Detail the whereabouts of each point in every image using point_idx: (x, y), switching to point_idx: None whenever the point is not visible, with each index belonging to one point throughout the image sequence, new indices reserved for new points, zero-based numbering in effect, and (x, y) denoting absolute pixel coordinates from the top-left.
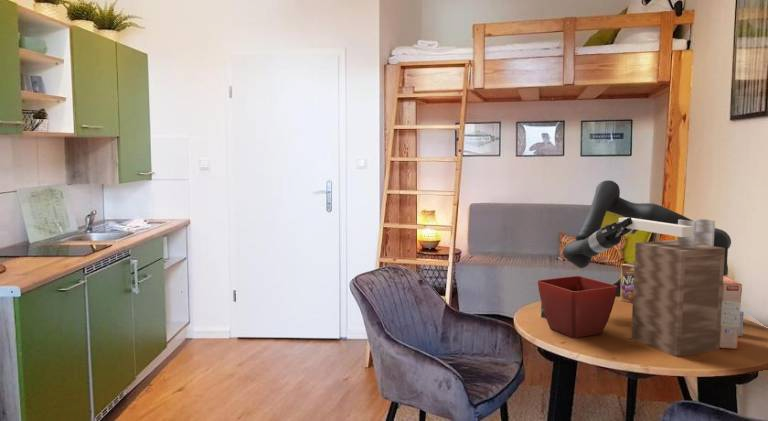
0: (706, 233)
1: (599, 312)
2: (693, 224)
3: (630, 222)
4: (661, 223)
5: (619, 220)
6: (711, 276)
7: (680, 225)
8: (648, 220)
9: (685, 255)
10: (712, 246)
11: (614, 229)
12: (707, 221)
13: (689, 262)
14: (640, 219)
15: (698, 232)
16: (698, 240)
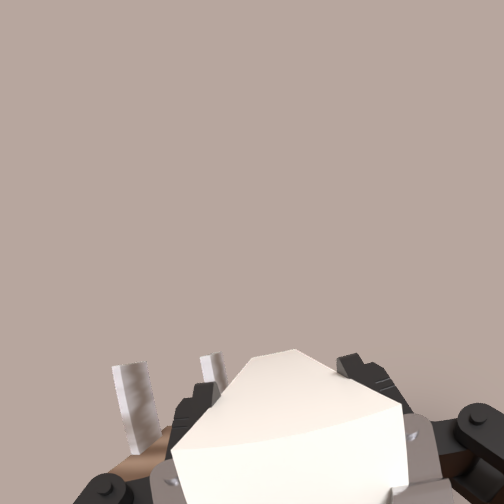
0: (146, 406)
1: None
2: (223, 360)
3: None
4: (286, 358)
5: (398, 435)
6: None
7: (265, 357)
8: (241, 381)
9: None
10: (164, 434)
11: (480, 459)
12: (139, 367)
13: None
14: (241, 392)
15: (134, 413)
16: (141, 439)
